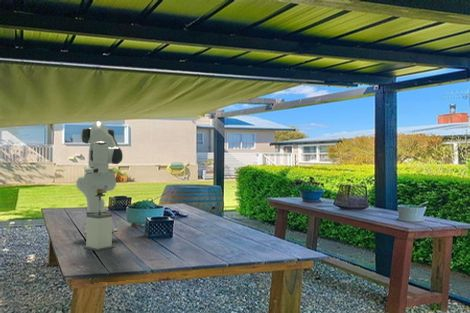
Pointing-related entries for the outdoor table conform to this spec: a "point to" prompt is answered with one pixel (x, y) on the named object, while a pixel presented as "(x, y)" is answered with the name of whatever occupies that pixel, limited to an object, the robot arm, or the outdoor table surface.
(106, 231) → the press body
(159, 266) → the outdoor table surface
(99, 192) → the plunger
